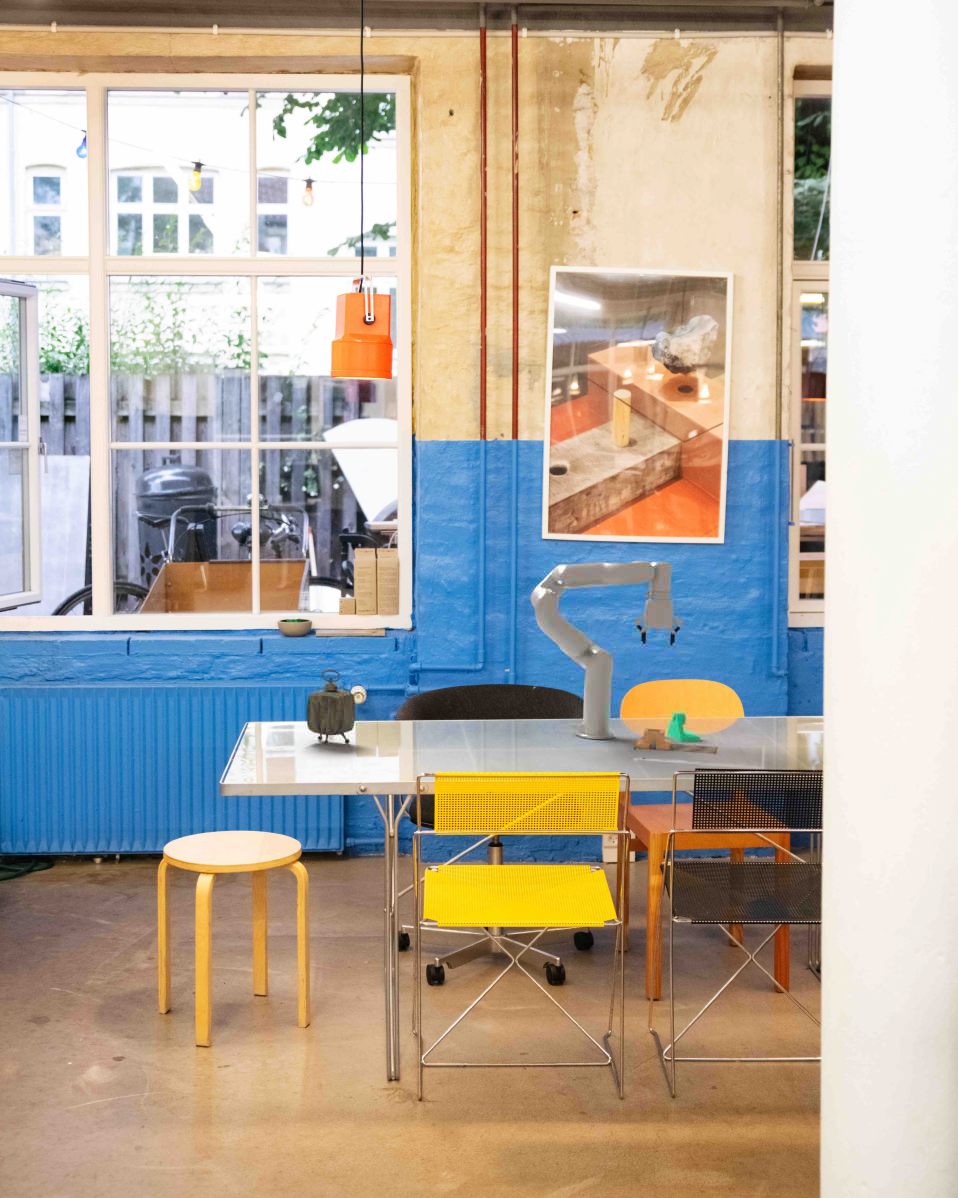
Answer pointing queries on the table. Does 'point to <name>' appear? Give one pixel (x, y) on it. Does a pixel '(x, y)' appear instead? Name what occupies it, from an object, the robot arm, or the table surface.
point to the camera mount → (680, 728)
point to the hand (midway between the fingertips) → (657, 644)
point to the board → (687, 748)
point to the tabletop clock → (331, 710)
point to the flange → (654, 739)
